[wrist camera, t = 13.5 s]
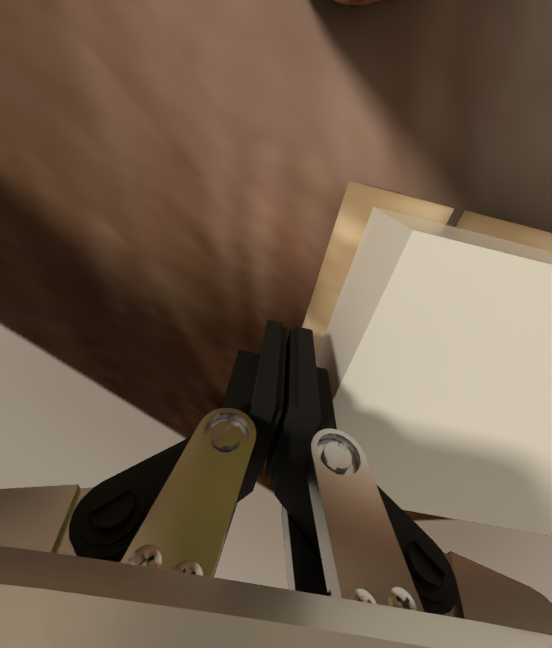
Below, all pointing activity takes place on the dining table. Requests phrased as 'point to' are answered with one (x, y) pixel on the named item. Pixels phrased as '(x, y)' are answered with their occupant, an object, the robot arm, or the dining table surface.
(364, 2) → the sauce bottle
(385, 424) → the slab
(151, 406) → the dining table surface
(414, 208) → the roller track
